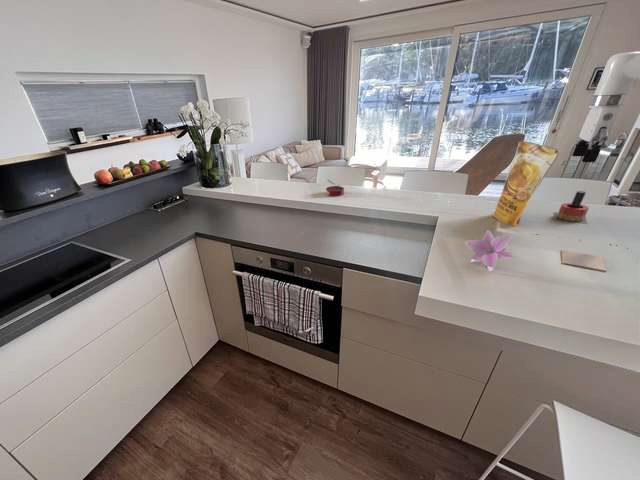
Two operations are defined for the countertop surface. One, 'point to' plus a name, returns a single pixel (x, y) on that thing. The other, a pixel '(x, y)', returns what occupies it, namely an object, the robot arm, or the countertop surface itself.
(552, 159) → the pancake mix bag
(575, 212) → the top ring
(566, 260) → the cork mat
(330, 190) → the red bowl with spoon
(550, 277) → the countertop surface
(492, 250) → the lily
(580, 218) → the bottom ring
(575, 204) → the post stand
